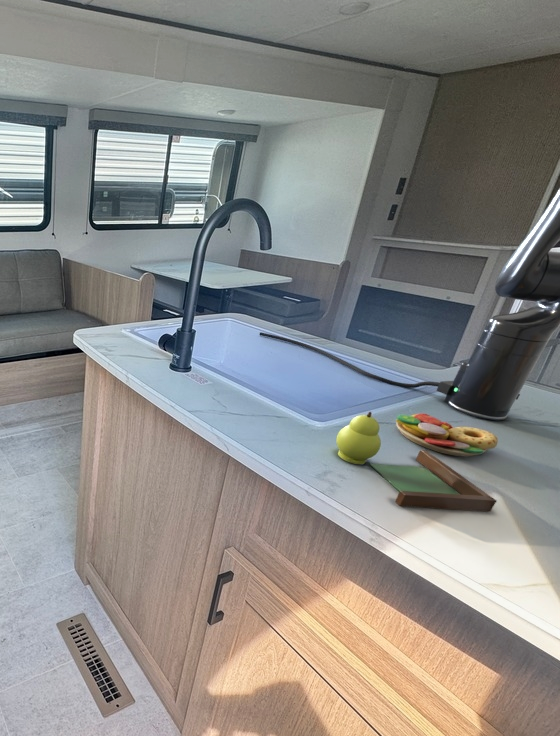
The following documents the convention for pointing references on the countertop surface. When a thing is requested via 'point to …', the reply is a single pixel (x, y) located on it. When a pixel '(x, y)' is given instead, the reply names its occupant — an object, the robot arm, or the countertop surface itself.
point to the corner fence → (434, 486)
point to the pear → (359, 439)
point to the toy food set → (445, 435)
